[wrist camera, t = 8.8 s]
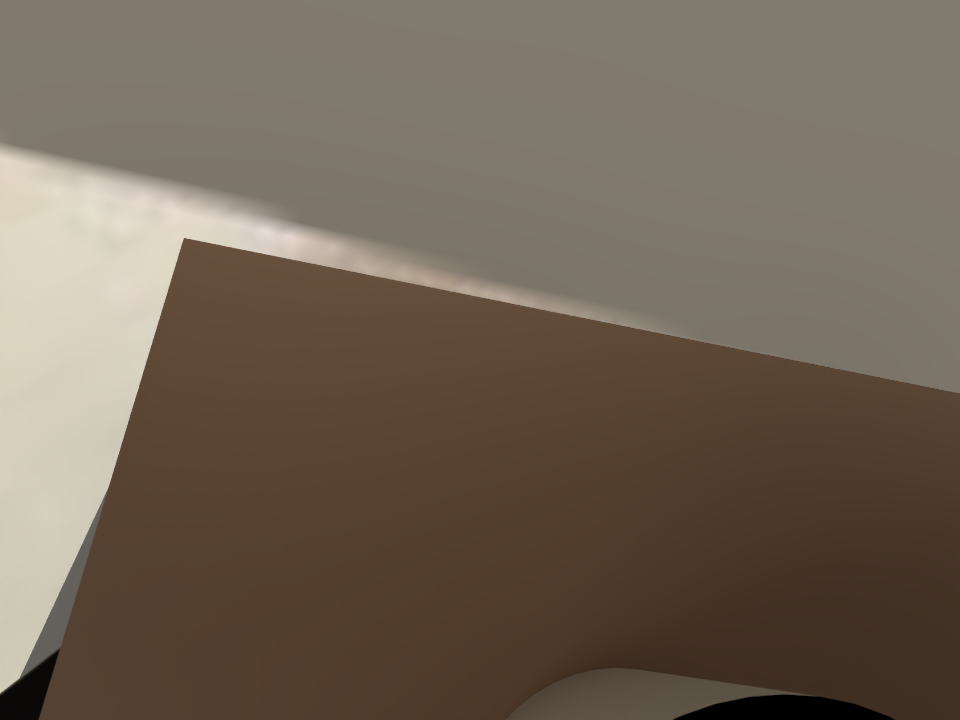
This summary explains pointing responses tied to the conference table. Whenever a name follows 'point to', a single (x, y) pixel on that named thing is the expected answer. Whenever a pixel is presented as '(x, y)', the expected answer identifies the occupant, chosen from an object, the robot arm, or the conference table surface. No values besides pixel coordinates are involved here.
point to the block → (505, 519)
